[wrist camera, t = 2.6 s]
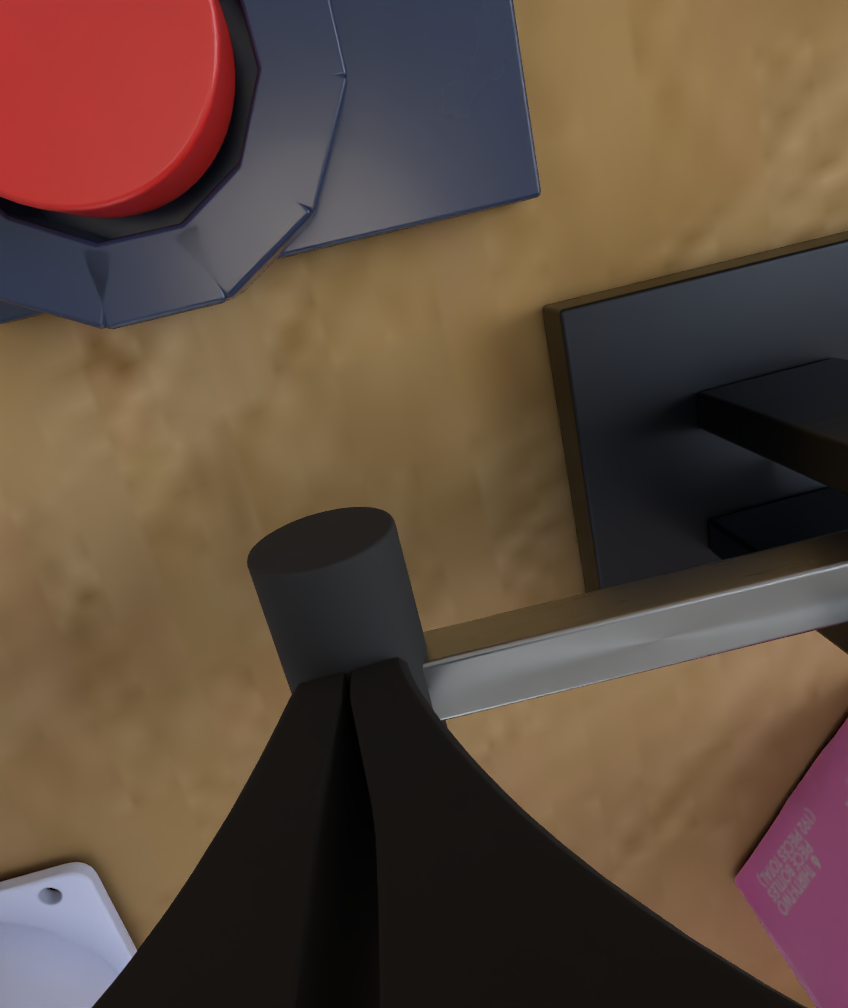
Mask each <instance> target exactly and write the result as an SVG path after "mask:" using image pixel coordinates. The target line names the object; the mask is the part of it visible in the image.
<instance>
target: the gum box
mask: <svg viewBox="0 0 848 1008" xmlns="http://www.w3.org/2000/svg"><path fill="white" fill-rule="evenodd" d="M735 884H736V886H737V887H738V888H739V890H740V891H741V893H742V894H743V895H744V897H745V899H746V901H747V902H748V904H749V905H750V906H751V907H752V909H753V911H754V912H755V914H756V916H757V917H758V919H759V921H760V922H761V924H762V926H763V927H764V929H765V931H766V932H767V934H768V935H769V937H770V938H771V940H772V941H773V943H774V944H775V946H776V947H777V949H778V950H779V952H780V953H781V955H782V956H783V958H784V959H785V961H786V962H787V964H788V965H789V967H790V968H791V970H792V971H793V973H794V975H795V976H796V978H797V979H798V981H799V982H800V984H801V985H802V987H803V988H804V990H805V991H806V993H807V994H808V996H809V997H810V998H811V1000H812V1001H813V1003H814V1004H815V1005H816V1007H817V1008H848V718H847V719H846V720H845V722H844V723H843V725H842V726H841V728H840V729H839V730H838V732H837V733H836V735H835V736H834V737H833V739H832V740H831V741H830V742H829V743H828V744H827V746H826V747H825V748H824V749H823V750H822V752H821V753H820V754H819V756H818V757H817V758H816V760H815V761H814V763H813V764H812V766H811V767H810V769H809V770H808V772H807V773H806V775H805V776H804V777H803V779H802V780H801V782H800V783H799V784H798V786H797V787H796V788H795V790H794V791H793V793H792V794H791V795H790V797H789V798H788V800H787V801H786V803H785V805H784V806H783V808H782V810H781V812H780V813H779V815H778V817H777V818H776V820H775V821H774V823H773V824H772V826H771V827H770V829H769V830H768V831H767V833H766V834H765V836H764V837H763V839H762V840H761V842H760V843H759V845H758V846H757V848H756V849H755V851H754V852H753V854H752V855H751V857H750V858H749V859H748V861H747V862H746V863H745V865H744V866H743V868H742V869H741V870H740V872H739V873H738V874H737V876H736V877H735Z"/></svg>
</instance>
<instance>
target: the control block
mask: <svg viewBox="0 0 848 1008" xmlns="http://www.w3.org/2000/svg"><path fill="white" fill-rule="evenodd" d="M219 2H220V5H221V8H222V11H223V14H224V17H225V20H226V23H227V26H228V29H229V33H230V38H231V42H232V47H233V52H234V62H235V98H234V105H233V112H232V116H231V120H230V124H229V127H228V131H227V134H226V136H225V139H224V141H223V143H222V146H221V148H220V150H219V152H218V154H217V155H216V157H215V159H214V160H213V162H212V164H211V165H210V167H209V168H208V169H207V170H206V172H205V173H204V174H203V175H202V177H201V178H200V179H199V180H198V181H197V182H196V183H195V184H194V185H193V186H192V187H191V188H190V189H188V190H187V191H186V192H185V193H184V194H182V195H181V196H179V197H178V198H176V199H175V200H173V201H172V202H170V203H168V204H166V205H164V206H162V207H160V208H157V209H155V210H153V211H149V212H146V213H143V214H140V215H135V216H129V217H122V218H94V217H85V216H78V215H72V214H66V213H61V212H55V211H49V210H43V209H39V208H34V207H30V206H26V205H22V204H18V203H16V202H13V201H10V200H8V199H5V198H3V197H0V324H4V323H9V322H13V321H17V320H22V319H26V318H30V317H34V316H39V315H43V314H47V313H48V314H51V315H55V316H58V317H62V318H65V319H69V320H72V321H76V322H80V323H83V324H87V325H90V326H94V327H97V328H107V327H108V328H109V329H116V328H120V327H124V326H128V325H132V324H136V323H141V322H145V321H149V320H153V319H157V318H162V317H166V316H170V315H174V314H178V313H183V312H187V311H191V310H195V309H199V308H204V307H208V306H212V305H216V304H220V303H224V302H226V301H228V300H230V299H232V298H234V297H236V296H237V295H238V294H240V293H243V292H244V291H245V290H246V289H247V288H248V287H249V286H250V285H251V284H252V283H253V282H254V281H255V280H256V279H257V278H258V277H259V276H260V275H261V274H262V273H263V272H264V271H265V270H266V269H267V268H268V267H269V266H270V265H271V264H272V263H273V262H274V261H275V260H276V259H280V258H284V257H288V256H293V255H297V254H301V253H305V252H310V251H314V250H318V249H322V248H327V247H331V246H335V245H339V244H344V243H348V242H352V241H356V240H360V239H365V238H369V237H373V236H377V235H382V234H386V233H390V232H394V231H399V230H403V229H407V228H411V227H416V226H420V225H424V224H428V223H432V222H437V221H441V220H445V219H449V218H454V217H458V216H462V215H466V214H471V213H475V212H479V211H483V210H488V209H492V208H496V207H500V206H504V205H509V204H513V203H517V202H521V201H525V200H529V199H532V198H536V197H538V196H539V195H540V193H541V189H540V182H539V176H538V169H537V162H536V155H535V148H534V142H533V135H532V128H531V121H530V114H529V108H528V101H527V94H526V87H525V80H524V74H523V67H522V60H521V53H520V46H519V39H518V33H517V26H516V19H515V12H514V5H513V0H219Z"/></svg>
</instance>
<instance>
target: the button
mask: <svg viewBox="0 0 848 1008" xmlns="http://www.w3.org/2000/svg"><path fill="white" fill-rule="evenodd" d="M234 98H235V62H234V52H233V47H232V42H231V38H230V33H229V29H228V26H227V23H226V20H225V17H224V14H223V11H222V8H221V5H220V2H219V0H0V197H3V198H5V199H8V200H10V201H13V202H16V203H18V204H22V205H26V206H30V207H34V208H39V209H43V210H49V211H55V212H61V213H66V214H72V215H78V216H85V217H94V218H122V217H129V216H135V215H140V214H143V213H146V212H149V211H153V210H155V209H157V208H160V207H162V206H164V205H166V204H168V203H170V202H172V201H173V200H175V199H176V198H178V197H179V196H181V195H182V194H184V193H185V192H186V191H187V190H188V189H190V188H191V187H192V186H193V185H194V184H195V183H196V182H197V181H198V180H199V179H200V178H201V177H202V175H203V174H204V173H205V172H206V170H207V169H208V168H209V167H210V165H211V164H212V162H213V160H214V159H215V157H216V155H217V154H218V152H219V150H220V148H221V146H222V143H223V141H224V139H225V136H226V134H227V131H228V127H229V124H230V120H231V116H232V112H233V105H234Z"/></svg>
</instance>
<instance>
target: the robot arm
mask: <svg viewBox="0 0 848 1008" xmlns="http://www.w3.org/2000/svg"><path fill="white" fill-rule="evenodd" d="M48 888H54V889H57V890H58V891H53V890H50V889H48ZM0 1008H806V1007H804V1006H803V1005H801V1004H799V1003H798V1002H796V1001H794V1000H792V999H791V998H789V997H787V996H785V995H784V994H782V993H780V992H778V991H777V990H775V989H773V988H771V987H770V986H768V985H766V984H764V983H763V982H761V981H760V980H758V979H756V978H755V977H753V976H752V975H750V974H748V973H747V972H745V971H744V970H742V969H740V968H739V967H737V966H735V965H734V964H732V963H731V962H729V961H727V960H726V959H724V958H723V957H721V956H719V955H718V954H716V953H715V952H713V951H711V950H710V949H708V948H707V947H705V946H703V945H702V944H700V943H698V942H697V941H695V940H694V939H692V938H691V937H689V936H688V935H686V934H685V933H683V932H682V931H681V930H679V929H678V928H676V927H675V926H673V925H672V924H671V923H669V922H668V921H666V920H665V919H663V918H662V917H661V916H659V915H658V914H656V913H655V912H653V911H652V910H651V909H649V908H648V907H646V906H645V905H643V904H642V903H641V902H639V901H638V900H636V899H635V898H633V897H632V896H630V895H629V894H628V893H626V892H625V891H623V890H622V889H620V888H619V887H618V886H616V885H615V884H613V883H612V882H610V881H609V880H608V879H606V878H605V877H604V876H602V875H601V874H600V873H598V872H597V871H596V870H595V869H593V868H592V867H591V866H590V865H588V864H587V863H586V862H585V861H583V860H582V859H581V858H580V857H578V856H577V855H576V854H575V853H573V852H572V851H571V850H569V849H568V848H567V847H566V846H564V845H563V844H562V843H561V842H560V841H559V840H557V839H556V838H555V837H554V836H553V835H552V834H550V833H549V832H548V831H547V830H546V829H545V828H543V827H542V826H541V825H540V824H539V823H538V822H537V821H535V820H534V819H533V818H532V817H531V816H530V815H529V814H528V813H527V812H525V811H524V810H523V809H522V808H521V807H520V806H519V805H518V804H517V803H516V802H515V801H514V800H513V799H512V798H511V797H510V796H509V795H508V794H507V793H505V792H504V791H503V789H502V788H501V787H500V786H499V785H498V784H497V783H496V782H495V781H494V780H493V779H492V778H491V777H490V776H489V775H488V774H487V773H486V772H485V771H484V770H483V769H482V768H481V767H480V766H479V765H478V763H477V762H476V761H475V760H474V759H473V758H472V757H471V756H470V755H469V754H468V752H467V751H466V750H465V749H464V748H463V746H462V745H461V744H460V743H459V742H458V740H457V739H456V738H455V737H454V736H453V734H452V733H451V732H450V731H449V730H448V728H447V727H446V726H445V725H444V723H443V722H442V721H441V720H440V718H439V717H438V716H437V714H436V713H435V712H434V710H433V709H432V707H431V706H430V704H429V703H428V701H427V700H426V698H425V697H424V695H423V694H422V692H421V691H420V689H419V687H418V686H417V684H416V682H415V680H414V678H413V676H412V674H411V672H410V669H409V666H408V662H406V661H404V660H402V659H401V658H399V657H395V658H391V659H388V660H384V661H380V662H377V663H373V664H370V665H368V666H364V667H361V668H358V669H355V670H352V675H351V685H350V690H349V687H348V684H347V681H346V678H345V674H344V672H343V673H339V674H334V675H329V676H325V677H321V678H318V679H314V680H310V681H307V682H303V683H299V684H298V686H297V687H296V689H295V690H294V692H293V693H292V695H291V697H290V699H289V701H288V703H287V705H286V707H285V709H284V712H283V714H282V716H281V718H280V720H279V722H278V724H277V726H276V728H275V730H274V732H273V734H272V736H271V738H270V740H269V741H268V743H267V745H266V747H265V749H264V751H263V753H262V755H261V757H260V759H259V761H258V763H257V764H256V766H255V768H254V770H253V772H252V773H251V775H250V777H249V779H248V781H247V783H246V784H245V786H244V788H243V790H242V792H241V793H240V795H239V797H238V799H237V801H236V803H235V804H234V806H233V808H232V809H231V811H230V813H229V815H228V816H227V818H226V820H225V821H224V823H223V824H222V826H221V828H220V829H219V831H218V832H217V834H216V836H215V837H214V839H213V841H212V842H211V844H210V845H209V847H208V849H207V850H206V852H205V853H204V855H203V857H202V858H201V860H200V861H199V863H198V865H197V866H196V868H195V869H194V871H193V873H192V874H191V876H190V877H189V879H188V880H187V882H186V883H185V885H184V886H183V888H182V889H181V891H180V892H179V894H178V895H177V897H176V898H175V900H174V901H173V902H172V904H171V905H170V907H169V908H168V910H167V911H166V912H165V914H164V915H163V917H162V918H161V920H160V921H159V922H158V924H157V925H156V926H155V928H154V929H153V930H152V932H151V933H150V934H149V936H148V937H147V938H146V940H145V941H144V942H143V944H142V945H141V946H140V948H139V949H138V950H137V949H136V947H135V945H134V943H133V941H132V939H131V938H130V936H129V934H128V932H127V930H126V928H125V926H124V924H123V922H122V920H121V918H120V917H119V915H118V913H117V911H116V909H115V907H114V905H113V903H112V901H111V899H110V897H109V896H108V894H107V892H106V890H105V888H104V886H103V884H102V882H101V880H100V878H99V876H98V875H97V873H96V871H95V870H94V869H93V868H92V867H91V866H89V865H87V864H85V863H80V862H72V863H66V864H62V865H59V866H55V867H52V868H48V869H45V870H41V871H37V872H34V873H30V874H27V875H23V876H20V877H16V878H13V879H9V880H5V881H2V882H0Z"/></svg>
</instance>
